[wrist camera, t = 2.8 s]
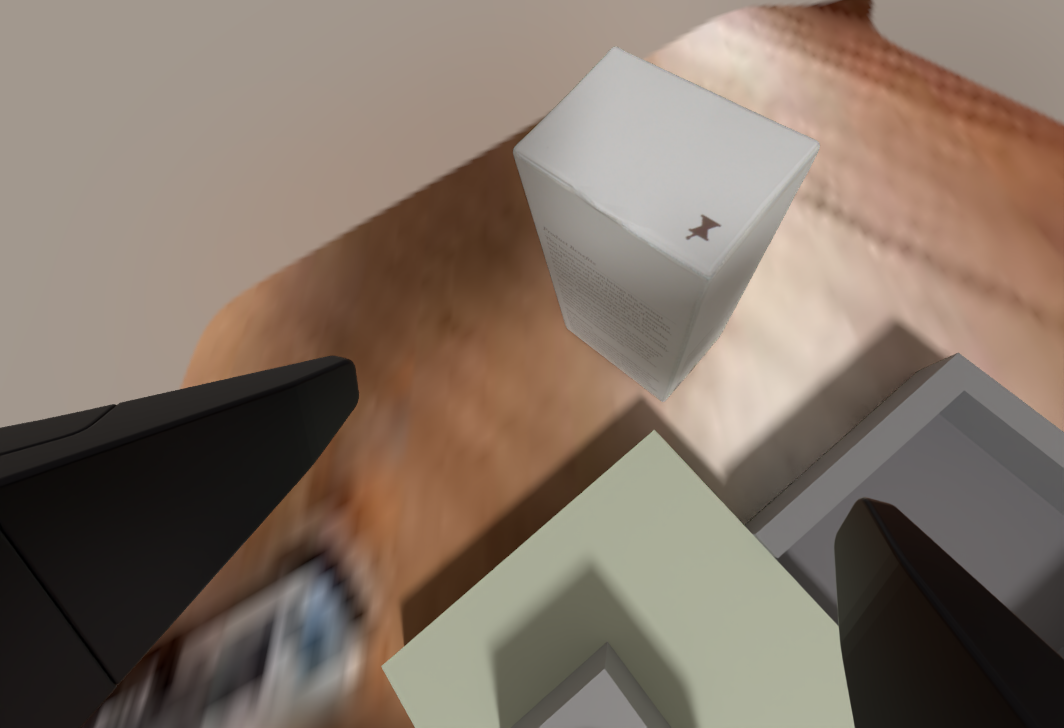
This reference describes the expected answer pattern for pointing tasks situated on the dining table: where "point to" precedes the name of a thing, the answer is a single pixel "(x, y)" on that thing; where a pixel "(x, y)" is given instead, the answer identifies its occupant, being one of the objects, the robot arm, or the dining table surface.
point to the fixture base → (741, 576)
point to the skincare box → (655, 211)
